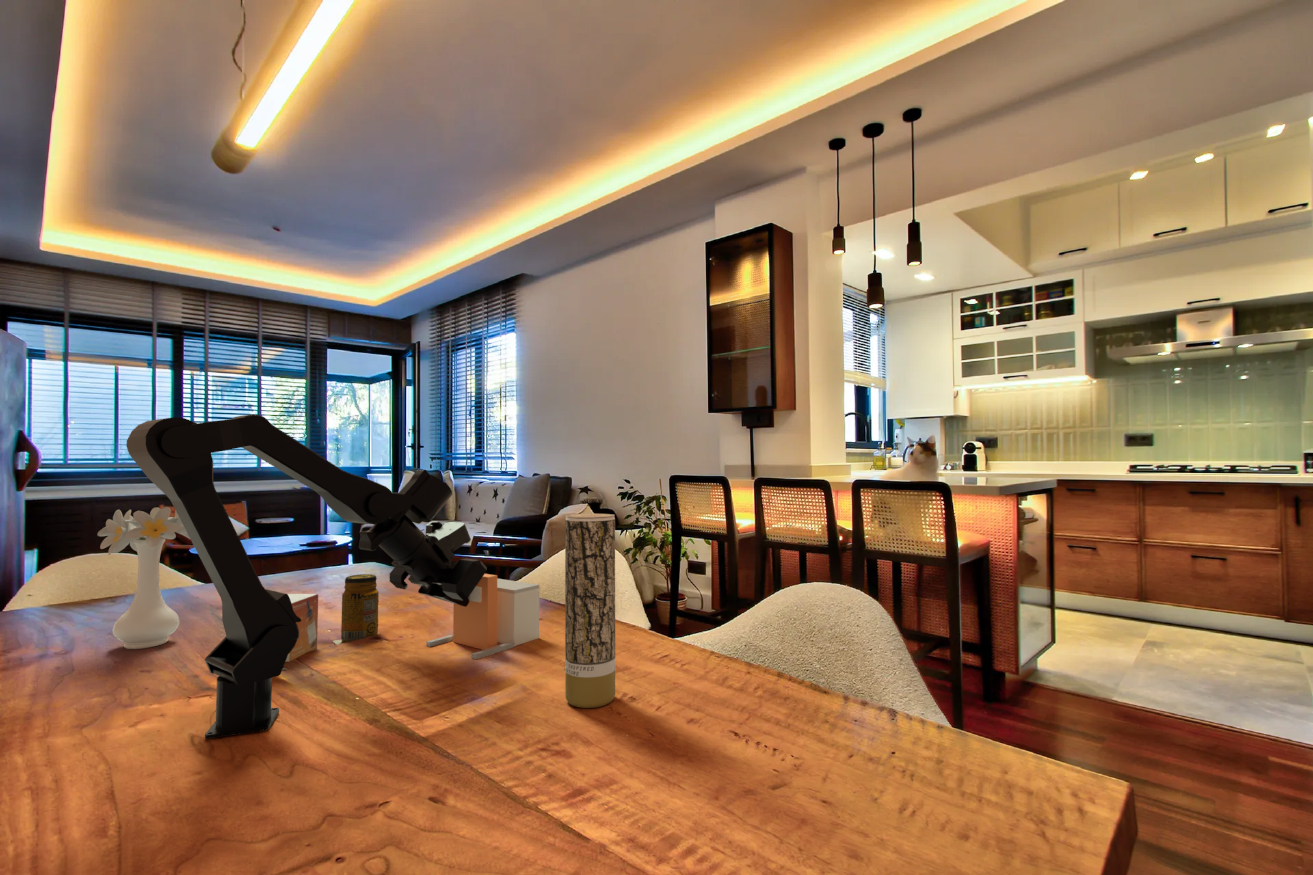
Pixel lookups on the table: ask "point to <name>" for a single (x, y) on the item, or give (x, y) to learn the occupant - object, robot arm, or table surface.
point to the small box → (304, 624)
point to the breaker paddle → (478, 616)
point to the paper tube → (589, 609)
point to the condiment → (359, 608)
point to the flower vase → (144, 574)
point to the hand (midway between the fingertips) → (466, 604)
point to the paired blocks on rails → (510, 617)
